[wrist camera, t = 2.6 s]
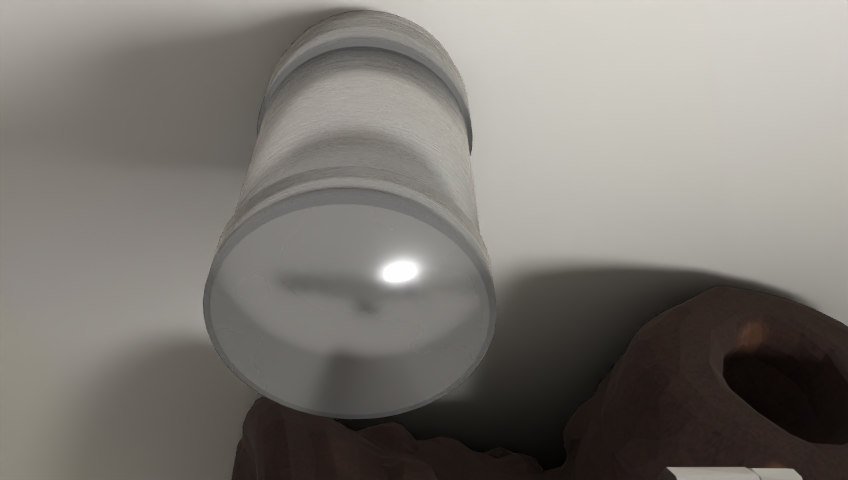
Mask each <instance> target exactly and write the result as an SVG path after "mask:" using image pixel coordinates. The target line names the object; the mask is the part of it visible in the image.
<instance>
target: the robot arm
mask: <svg viewBox="0 0 848 480" xmlns="http://www.w3.org/2000/svg"><path fill="white" fill-rule="evenodd" d="M657 480H803V479H802V477H801V476H800V475H799V474H798V473H797V472H796V471H795V470H794V469H787V468H749V469H747V468H746V467H666V468H665V469H663V470H662V471H661V472H660V473H659V476H658V478H657Z"/></svg>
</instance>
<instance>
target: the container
mask: <svg viewBox="0 0 848 480" xmlns="http://www.w3.org/2000/svg"><path fill="white" fill-rule="evenodd" d="M471 150H472V128H471V120H470V113H469V105H468V98H467V93H466V90H465V86H464V83H463V80H462V78H461V76H460V73H459V71H458V70H457V68H456V66H455V65H454V63H453V61H452V59H451V58H450V56H449V54H448V53H447V51H446V50H445V49H444V48H443V46H442V45H441V44H440V43H439V42H438V41H437V40H436V39H435V38H434V37H433V36H432V35H431V34H430V33H428V32H427V31H426V30H424V29H423V28H422V27H420V26H418V25H417V24H415V23H413V22H411V21H409V20H407V19H404V18H402V17H399V16H396V15H392V14H388V13H384V12H376V11H354V12H347V13H342V14H339V15H335V16H332V17H329V18H327V19H325V20H322V21H320V22H318V23H317V24H315V25H313V26H312V27H310V28H309V29H308V30H306V31H305V32H304V33H303V34H301V35H300V36H299V37H298V38H297V39H296V40H295V41H294V43H293V44H292V45H291V46H290V48H289V49H288V50H287V51H286V52H285V53H284V54H283V56H282V57H281V59H280V60H279V61H278V63H277V65H276V67H275V69H274V71H273V73H272V75H271V78H270V81H269V84H268V87H267V91H266V94H265V97H264V100H263V103H262V107H261V110H260V113H259V119H258V125H257V141H256V145H255V148H254V151H253V155H252V158H251V161H250V165H249V168H248V171H247V174H246V178H245V181H244V184H243V188H242V191H241V194H240V198H239V201H238V204H237V207H236V211H235V214H234V216H233V217H232V218H231V220H230V221H229V222H228V224H227V226H226V228H225V230H224V231H223V233H222V235H221V237H220V240H219V243H218V247H217V250H216V253H215V256H214V259H213V262H212V265H211V269H210V272H209V275H208V278H207V281H206V285H205V290H204V298H203V310H204V319H205V323H206V328H207V331H208V334H209V336H210V339H211V341H212V344H213V345H214V347H215V349H216V350H217V352H218V354H219V356H220V357H221V358H222V360H223V361H224V362H225V363H226V365H227V366H228V367H229V368H230V369H231V370H232V371H233V372H234V373H235V374H236V375H237V376H238V377H239V378H240V379H241V380H242V381H243V382H245V383H246V384H247V385H249V386H250V387H251V388H253V389H254V390H256V391H257V392H259V393H261V394H262V395H264V396H265V397H267V398H269V399H271V400H273V401H275V402H277V403H280V404H282V405H284V406H287V407H290V408H293V409H295V410H298V411H302V412H306V413H309V414H313V415H318V416H324V417H331V418H342V419H370V418H379V417H386V416H391V415H396V414H401V413H404V412H408V411H411V410H414V409H417V408H420V407H422V406H425V405H427V404H429V403H432V402H434V401H435V400H437V399H439V398H441V397H443V396H445V395H446V394H448V393H449V392H450V391H452V390H453V389H455V388H456V387H458V386H459V385H460V384H461V383H462V382H463V381H464V380H465V379H467V378H468V377H469V376H470V375H471V374H472V372H473V371H474V370H475V369H476V368H477V366H478V365H479V364H480V362H481V361H482V359H483V357H484V356H485V354H486V353H487V351H488V348H489V346H490V343H491V341H492V339H493V334H494V330H495V326H496V314H497V309H496V299H495V292H494V284H493V277H492V270H491V263H490V259H489V255H488V252H487V248H486V246H485V244H484V241H483V239H482V237H481V235H480V230H479V222H478V214H477V207H476V199H475V191H474V183H473V176H472V168H471V160H470V156H471Z"/></svg>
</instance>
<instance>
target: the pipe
mask: <svg viewBox="0 0 848 480" xmlns="http://www.w3.org/2000/svg"><path fill="white" fill-rule="evenodd" d="M563 438H564V444H565V449H566V451H567V457H566V462H565V463H564V464H563V465H562V467H558V468H553V469H549V470H543V469H542V468H541V466H540V465H539V464H538V462H537V461H536V459H535V458H534V457H531V456H527V455H523V454H519V453H515V454H514V453H512V452H510V451H508V450H506V449H504V448H502V447H500V448H494V449H492V450H489V451H487V452H485V453H480V452H476V451H472V450H470V449H469V448H468V447H466V446H465V445H464V444H463V443H461V442H460V441H458V440H454V439H451V438H448V437H435V438H432V439H428V440H415V439H414V438H413V437H412V436H411V435H410V433H409V432H408V431H407V430H406V429H405V428H404V427H403V426H402V425H400V424H398V423H395V422H389V423H384V424H379V425H375V426H371V427H368V428H365V429H362V430H359V431H356V432H355V431H353V430H351V429H349V428H347V427H346V426H344V425H342V424H341V423H339V422H337V421H335V420H334V419H332V418H330V417H324V416H318V415H313V414H309V413H306V412H302V411H298V410H295V409H293V408H290V407H287V406H284V405H282V404H280V403H277V402H275V401H273V400H271V399H269V398H267V397H261V398H260V399H258V400H256V401H255V403H254V404H253V406H252V407H251V409H250V410H249V412H248V413H247V415H246V418H245V421H244V424H243V437H242V439H241V440H240V442H239V443H238V447H237V452H236V458H235V463H234V469H233V475H232V480H657V478H658V476H659V473H660V472H661V471H662V470H663V469H665V468H666V467H746V468H747V469H749V468H787V469H794V470H795V471H796V472H797V473H798V474H799V475H800V476H801V477H802V479H803V480H848V327H847V326H846V325H844V324H843V323H841V322H839V321H837V320H835V319H833V318H831V317H829V316H827V315H825V314H823V313H821V312H819V311H817V310H815V309H812V308H810V307H807V306H805V305H802V304H799V303H796V302H794V301H791V300H788V299H785V298H781V297H777V296H773V295H768V294H764V293H760V292H755V291H751V290H747V289H740V288H733V287H727V286H717V287H712V288H710V289H708V290H706V291H704V292H702V293H700V294H699V295H697V296H695V297H693V298H691V299H689V300H687V301H686V302H683V303H681V304H679V305H677V306H675V307H672V308H670V309H668V310H666V311H663V312H661V313H660V314H658V315H657V316H656V317H654V318H653V319H651V320H650V321H649V322H647V323H646V324H644V325H643V326H642V327H641V328H640V329H639V330H638V331H637V333H636V334H635V335H634V337H633V338H632V339H631V341H630V343H629V345H628V347H627V349H626V351H625V353H624V354H623V355H622V356H621V358H620V359H619V360H618V361H617V362H616V364H615V365H614V367H613V370H612V371H611V372H609V373H608V374H607V375H606V376H605V377H604V378H603V379H602V381H601V382H600V384H599V385H598V387H597V390H596V392H595V395H594V396H592V397H591V398H589V399H588V400H587V401H585V402H584V403H582V404H581V405H580V406H579V407H578V408H577V410H576V411H575V412H574V414H573V415H572V416H571V418H570V419H569V420H568V422H567V424H566V427H565V429H564V433H563Z"/></svg>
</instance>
